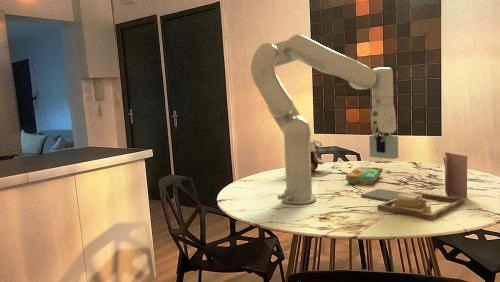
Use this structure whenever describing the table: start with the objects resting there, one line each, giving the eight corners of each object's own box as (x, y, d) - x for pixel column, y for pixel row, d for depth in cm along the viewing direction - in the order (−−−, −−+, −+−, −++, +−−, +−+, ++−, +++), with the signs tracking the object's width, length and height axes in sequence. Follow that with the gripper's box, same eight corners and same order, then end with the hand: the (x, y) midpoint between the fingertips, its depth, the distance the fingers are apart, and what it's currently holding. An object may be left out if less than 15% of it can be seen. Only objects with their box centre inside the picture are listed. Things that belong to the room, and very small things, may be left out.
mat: (390, 201, 146) (390, 199, 146) (361, 196, 155) (361, 194, 155) (407, 195, 154) (407, 193, 154) (378, 190, 163) (378, 188, 163)
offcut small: (414, 202, 130) (414, 198, 130) (397, 199, 135) (396, 195, 134) (422, 199, 133) (422, 194, 133) (404, 196, 138) (404, 191, 138)
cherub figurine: (335, 172, 204) (334, 136, 202) (316, 179, 191) (315, 140, 189) (305, 169, 216) (303, 135, 214) (285, 175, 202) (283, 139, 200)
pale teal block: (394, 159, 148) (393, 137, 147) (369, 156, 156) (369, 135, 155) (398, 157, 150) (398, 136, 149) (374, 155, 158) (373, 135, 157)
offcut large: (420, 218, 129) (420, 210, 128) (391, 212, 136) (391, 205, 136) (430, 213, 133) (430, 205, 133) (401, 207, 141) (401, 200, 140)
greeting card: (442, 190, 157) (442, 152, 156) (464, 191, 155) (464, 152, 153) (444, 198, 147) (444, 157, 145) (467, 199, 144) (468, 157, 142)
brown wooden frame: (431, 220, 124) (431, 215, 124) (377, 209, 138) (377, 205, 138) (464, 203, 140) (464, 199, 139) (413, 195, 153) (413, 191, 153)
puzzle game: (345, 173, 177) (357, 165, 195) (346, 184, 178) (357, 175, 195) (373, 175, 172) (382, 166, 189) (373, 186, 172) (382, 176, 190)
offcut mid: (420, 209, 129) (420, 203, 129) (395, 206, 135) (394, 200, 134) (426, 204, 134) (426, 198, 134) (401, 201, 139) (401, 195, 139)
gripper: (379, 103, 143) (380, 155, 145) (403, 100, 153) (404, 149, 155) (360, 103, 148) (362, 153, 150) (385, 100, 159) (386, 148, 161)
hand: (383, 151), depth 153 cm, fingers closed on pale teal block, 3 cm apart
